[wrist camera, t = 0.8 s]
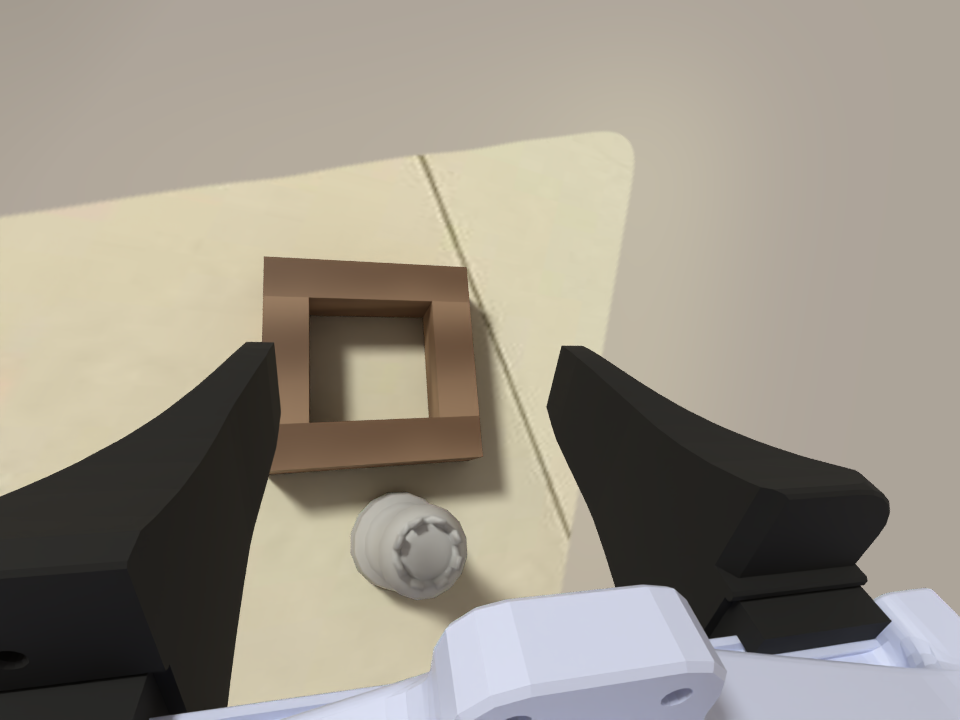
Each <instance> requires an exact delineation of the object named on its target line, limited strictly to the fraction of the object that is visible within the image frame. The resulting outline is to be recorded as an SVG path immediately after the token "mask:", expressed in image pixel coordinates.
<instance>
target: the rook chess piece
mask: <svg viewBox="0 0 960 720" xmlns="http://www.w3.org/2000/svg"><path fill="white" fill-rule="evenodd" d="M351 555H352V558H353V560H354V563H355V565H356V568H357V570H358V571H359V572H360V573H361V574H362V575H363V576H364V577H365V578H366V579H367V580H368V581H369V582H370V583H371V584H374V585H376V586H379V587H382V588H385V589H388V590H391V591H394V590H395V591H396V592H397V593H398V594H400V595H403V596H406V597H409V598H412V599H415V600H420V599H429V598H435V597H436V596H438V595H440V594H442V593H443V592H445V591H447V590H448V589H450V588H451V587H452V585H453V584H454V583H455V581H456V580H457V579H458V578H459V576H460V575H461V574H462V571H463V567H464V564H465V561H466V558H467V543H466V536H465V534H464V531H463V529H462V527H461V525H460V522H459V521H458V520H457V519H456V518H455V517H454V516H453V515H452V514H451V513H450V512H449V511H448V510H446V509H444V508H441V507H438V506H435V505H433V504H429V503H428V502H427V501H426V500H425V499H424V498H421V497H419V496H416V495H413V494H410V493H408V492H392V493H386V494H384V495H382V496H380V497H378V498H376V499H374V500H372V501H371V502H370V503H369V504H368V505H367V506H366V507H365V508H364V509H363V510H362V511H361V512H360V513H359V514H358V516H357V519H356V521H355V524H354V526H353V529H352V531H351Z"/></svg>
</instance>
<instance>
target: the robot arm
mask: <svg viewBox="0 0 960 720" xmlns="http://www.w3.org/2000/svg"><path fill="white" fill-rule="evenodd" d="M547 410H548V414H549V418H550V421H551V425H552V428H553V431H554V434H555V437H556V440H557V442H558V444H559V446H560V449H561V451H562V453H563V455H564V457H565V459H566V462H567V464H568V466H569V468H570V470H571V472H572V474H573V476H574V478H575V480H576V483H577V485H578V487H579V489H580V491H581V493H582V495H583V497H584V499H585V501H586V503H587V506H588V508H589V510H590V513H591V515H592V517H593V520H594V523H595V526H596V529H597V532H598V534H599V537H600V541H601V543H602V546H603V549H604V552H605V555H606V559H607V562H608V565H609V568H610V571H611V575H612V578H613V581H614V584H615V588H606V589H597V590H588V591H579V592H569V593H560V594H551V595H542V596H533V597H523V598H514V599H506V600H502V601H498V602H495V603H491V604H487V605H483V606H479V607H476V608H474V609H472V610H471V611H469V612H467V613H466V614H464V615H463V616H461V617H460V618H458V619H456V620H455V621H453V622H452V623H450V624H449V625H448V627H447V628H446V629H445V631H444V632H443V634H442V636H441V637H440V639H439V641H438V642H437V644H436V646H435V647H434V650H433V656H432V663H431V669H430V672H427V673H424V674H421V675H418V676H415V677H411V678H408V679H405V680H402V681H399V682H396V683H393V684H388V685H381V686H373V687H366V688H359V689H352V690H345V691H338V692H331V693H324V694H317V695H310V696H303V697H295V698H288V699H281V700H274V701H267V702H260V703H253V704H246V705H239V706H232V707H227V705H228V697H229V688H230V680H231V672H232V665H233V657H234V650H235V642H236V635H237V627H238V621H239V614H240V607H241V600H242V594H243V587H244V580H245V574H246V568H247V562H248V556H249V550H250V544H251V540H252V535H253V531H254V526H255V523H256V519H257V516H258V512H259V509H260V505H261V501H262V498H263V494H264V491H265V487H266V484H267V480H268V476H269V473H270V469H271V466H272V462H273V458H274V455H275V451H276V447H277V440H278V433H279V425H280V417H281V405H280V395H279V385H278V375H277V365H276V355H275V345H274V342H246V343H245V344H244V345H242V346H241V347H240V348H239V349H238V350H237V351H236V352H234V353H233V354H232V355H231V356H230V357H229V358H228V359H227V360H226V361H225V362H224V363H223V364H221V365H220V366H219V367H218V368H217V369H216V370H215V371H214V372H213V373H212V374H210V375H209V376H208V377H207V378H206V379H205V380H203V381H202V382H201V383H200V384H199V385H198V386H197V387H195V388H194V389H193V390H192V391H190V392H189V393H188V394H186V395H185V396H184V397H183V398H181V399H180V400H179V401H177V402H176V403H175V404H174V405H172V406H171V407H170V408H168V409H167V410H166V411H164V412H163V413H161V414H160V415H159V416H157V417H156V418H154V419H153V420H151V421H150V422H148V423H146V424H145V425H143V426H142V427H140V428H139V429H137V430H135V431H134V432H132V433H131V434H129V435H127V436H126V437H124V438H122V439H120V440H119V441H117V442H115V443H113V444H111V445H109V446H108V447H106V448H104V449H102V450H100V451H98V452H96V453H94V454H93V455H91V456H89V457H87V458H85V459H83V460H81V461H79V462H78V463H75V464H73V465H71V466H69V467H67V468H65V469H63V470H61V471H59V472H56V473H54V474H52V475H50V476H48V477H46V478H43V479H41V480H39V481H36V482H34V483H32V484H29V485H27V486H25V487H22V488H20V489H18V490H15V491H13V492H10V493H8V494H5V495H3V496H1V497H0V720H960V617H959V616H958V615H957V614H956V613H955V612H954V611H953V610H952V609H951V608H950V607H949V606H948V605H947V604H946V603H945V602H944V601H943V600H942V599H941V598H940V597H939V596H938V595H937V594H936V593H935V592H934V591H933V590H932V589H929V588H920V589H911V590H905V591H897V592H889V593H886V594H882V595H880V596H879V597H877V598H875V599H874V600H873V599H872V598H871V597H870V596H869V595H868V594H867V593H866V592H865V590H864V589H863V588H862V587H861V586H860V585H865V583H866V582H867V576H866V575H865V574H864V573H863V572H862V571H861V570H860V569H859V568H858V566H857V565H856V564H855V563H856V562H857V561H858V560H859V559H860V557H861V556H862V554H864V552H865V551H866V550H867V549H868V548H869V546H870V545H871V544H872V543H873V541H874V540H875V539H876V538H877V536H878V535H879V534H880V532H881V531H882V529H883V528H884V526H885V525H886V523H887V520H888V517H889V513H890V507H889V501H888V499H887V498H886V497H885V495H884V494H883V493H882V492H881V491H879V490H878V489H877V488H876V487H875V486H874V485H873V484H872V483H871V482H869V481H868V480H867V479H866V478H865V477H864V476H863V475H862V474H860V473H859V472H857V471H855V470H852V469H848V468H845V467H841V466H837V465H833V464H829V463H826V462H822V461H818V460H814V459H810V458H807V457H803V456H800V455H797V454H794V453H791V452H787V451H784V450H782V449H778V448H775V447H772V446H769V445H767V444H764V443H761V442H758V441H756V440H753V439H751V438H748V437H746V436H743V435H741V434H738V433H736V432H733V431H731V430H728V429H726V428H724V427H721V426H719V425H717V424H715V423H712V422H710V421H708V420H706V419H704V418H702V417H700V416H698V415H696V414H694V413H692V412H690V411H688V410H686V409H684V408H683V407H681V406H679V405H677V404H675V403H674V402H672V401H670V400H669V399H667V398H665V397H663V396H662V395H660V394H658V393H657V392H655V391H653V390H652V389H650V388H648V387H647V386H645V385H644V384H642V383H641V382H639V381H637V380H636V379H634V378H633V377H631V376H630V375H628V374H627V373H625V372H624V371H622V370H621V369H619V368H618V367H616V366H615V365H613V364H612V363H610V362H609V361H607V360H606V359H604V358H603V357H601V356H600V355H598V354H596V353H595V352H593V351H591V350H590V349H588V348H586V347H584V346H561V350H560V354H559V359H558V363H557V367H556V371H555V375H554V379H553V383H552V387H551V391H550V395H549V399H548V403H547Z"/></svg>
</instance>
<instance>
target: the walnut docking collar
mask: <svg viewBox="0 0 960 720" xmlns="http://www.w3.org/2000/svg"><path fill="white" fill-rule="evenodd" d="M309 315H313V316H361V317H410V318H423V329H424V345H425V362H426V378H427V394H428V410H429V418H412V419H388V420H364V421H340V422H316V423H310V352H309ZM262 342H274V345H275V355H276V365H277V375H278V385H279V395H280V405H281V417H280V425H279V433H278V440H277V447H276V451H275V455H274V458H273V462H272V466H271V469H270V473H269V475H271V474H285V473H300V472H314V471H328V470H342V469H357V468H371V467H385V466H399V465H414V464H428V463H442V462H456V461H469V460H473V459H476V458H479V457H483V452H482V441H481V429H480V418H479V406H478V395H477V383H476V372H475V360H474V349H473V337H472V325H471V314H470V302H469V291H468V279H467V268H466V267H450V266H432V265H413V264H394V263H375V262H356V261H338V260H319V259H300V258H281V257H264V281H263V327H262Z"/></svg>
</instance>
